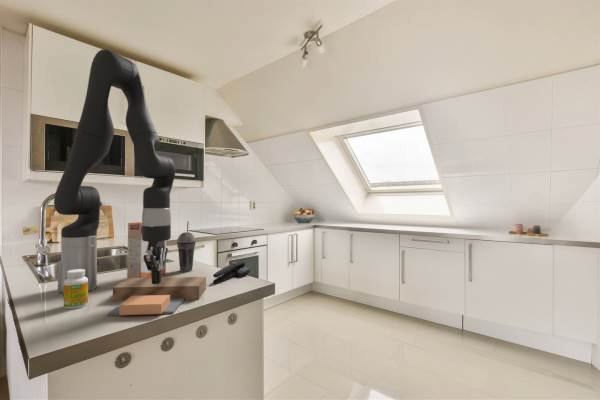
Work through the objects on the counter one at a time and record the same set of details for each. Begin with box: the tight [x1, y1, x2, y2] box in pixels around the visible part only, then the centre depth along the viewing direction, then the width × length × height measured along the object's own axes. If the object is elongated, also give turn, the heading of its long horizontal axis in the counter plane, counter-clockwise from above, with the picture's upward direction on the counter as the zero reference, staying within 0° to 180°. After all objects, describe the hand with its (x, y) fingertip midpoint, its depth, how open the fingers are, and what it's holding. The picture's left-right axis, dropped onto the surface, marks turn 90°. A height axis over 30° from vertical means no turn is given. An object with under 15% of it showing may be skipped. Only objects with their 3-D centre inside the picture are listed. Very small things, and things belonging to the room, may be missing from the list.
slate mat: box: [107, 298, 185, 316], centre depth 82 cm, size 16×10×1 cm, turn 96°
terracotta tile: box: [118, 295, 170, 316], centre depth 79 cm, size 10×7×2 cm
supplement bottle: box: [63, 269, 89, 310], centre depth 83 cm, size 5×5×10 cm
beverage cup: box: [176, 220, 196, 273], centre depth 122 cm, size 7×7×20 cm
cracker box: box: [126, 221, 167, 279], centre depth 111 cm, size 14×6×21 cm, turn 168°
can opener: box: [212, 260, 251, 285], centre depth 112 cm, size 18×7×6 cm, turn 152°
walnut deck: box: [112, 276, 207, 302], centre depth 93 cm, size 24×10×4 cm, turn 96°
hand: (156, 283), depth 87 cm, fingers closed
